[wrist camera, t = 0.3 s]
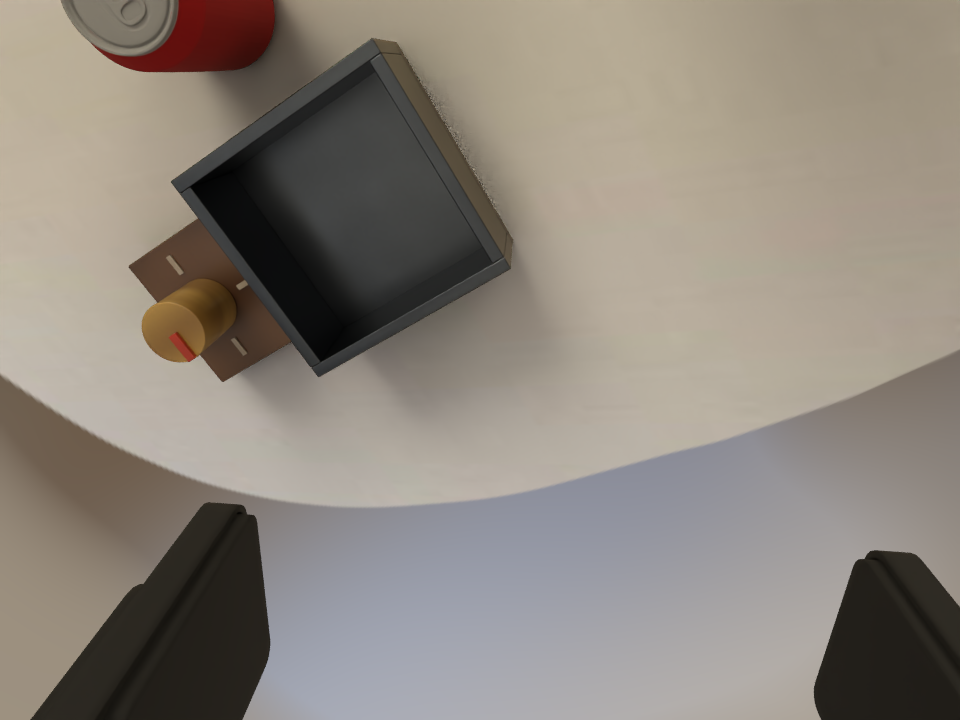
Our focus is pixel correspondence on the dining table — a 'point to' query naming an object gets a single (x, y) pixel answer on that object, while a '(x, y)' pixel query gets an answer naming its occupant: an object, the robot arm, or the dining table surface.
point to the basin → (350, 208)
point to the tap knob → (189, 320)
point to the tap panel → (204, 259)
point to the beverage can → (176, 32)
